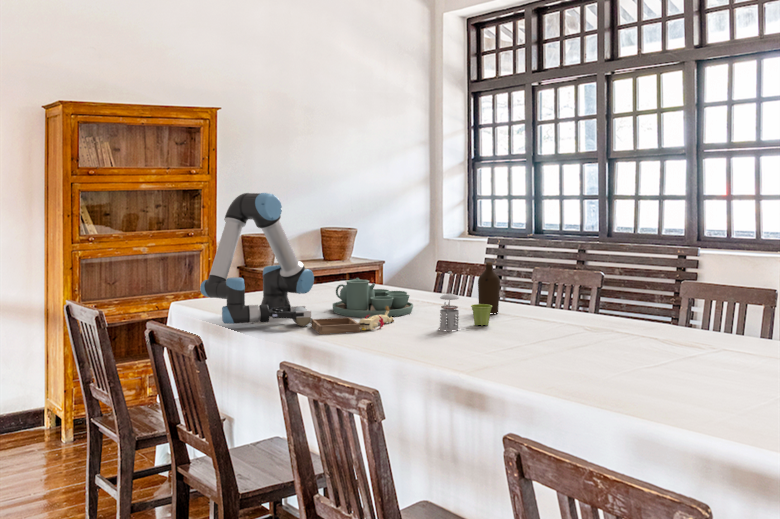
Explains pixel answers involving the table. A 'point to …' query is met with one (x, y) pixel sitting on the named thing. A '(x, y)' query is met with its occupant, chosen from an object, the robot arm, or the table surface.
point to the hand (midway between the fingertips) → (308, 311)
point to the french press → (449, 313)
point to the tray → (335, 325)
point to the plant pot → (481, 313)
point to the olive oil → (489, 288)
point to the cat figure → (375, 320)
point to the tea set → (370, 300)
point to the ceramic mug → (303, 320)
